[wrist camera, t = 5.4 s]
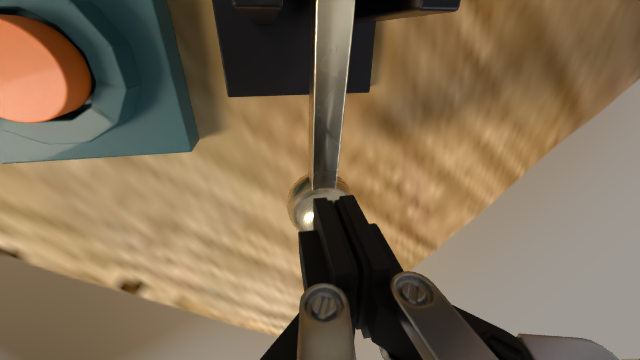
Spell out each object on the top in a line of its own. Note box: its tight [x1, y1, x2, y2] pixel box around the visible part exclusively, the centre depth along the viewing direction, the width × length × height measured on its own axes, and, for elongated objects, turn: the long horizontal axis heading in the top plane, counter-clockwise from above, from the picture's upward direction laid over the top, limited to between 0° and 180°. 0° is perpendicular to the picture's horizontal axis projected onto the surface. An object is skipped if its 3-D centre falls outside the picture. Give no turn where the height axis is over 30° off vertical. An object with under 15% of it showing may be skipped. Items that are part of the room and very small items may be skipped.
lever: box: [287, 0, 356, 231], centre depth 9 cm, size 13×3×3 cm, turn 0°
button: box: [0, 14, 92, 123], centre depth 11 cm, size 4×4×2 cm
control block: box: [0, 0, 199, 164], centre depth 13 cm, size 10×10×4 cm
